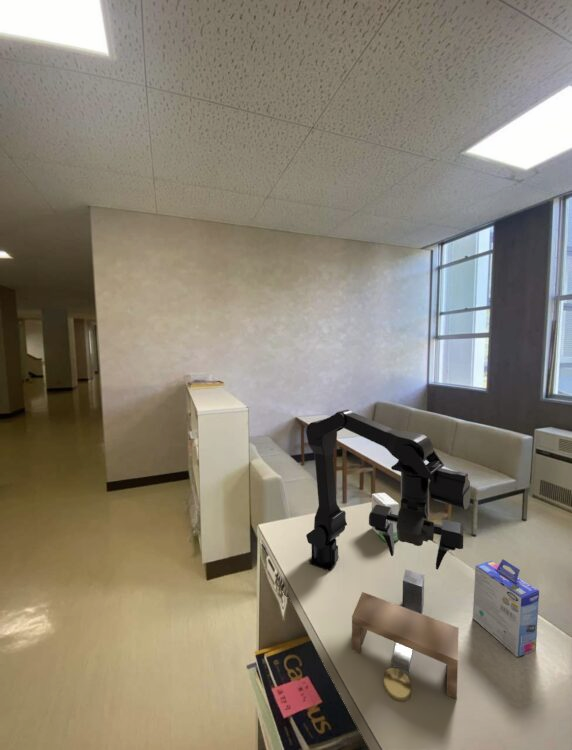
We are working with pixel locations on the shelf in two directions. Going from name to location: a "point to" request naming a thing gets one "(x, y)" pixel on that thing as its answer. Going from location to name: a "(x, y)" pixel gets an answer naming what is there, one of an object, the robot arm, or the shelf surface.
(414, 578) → the grey bar
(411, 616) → the walnut shelf
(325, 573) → the shelf surface
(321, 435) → the robot arm
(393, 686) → the gold round piece
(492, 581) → the ink cartridge box
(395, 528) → the ink box
